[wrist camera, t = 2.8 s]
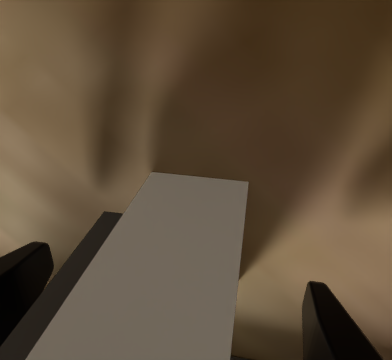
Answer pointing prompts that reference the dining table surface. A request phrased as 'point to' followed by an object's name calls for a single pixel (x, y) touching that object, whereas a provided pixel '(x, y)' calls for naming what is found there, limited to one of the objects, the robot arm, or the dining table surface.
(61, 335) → the block
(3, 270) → the robot arm
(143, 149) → the dining table surface
